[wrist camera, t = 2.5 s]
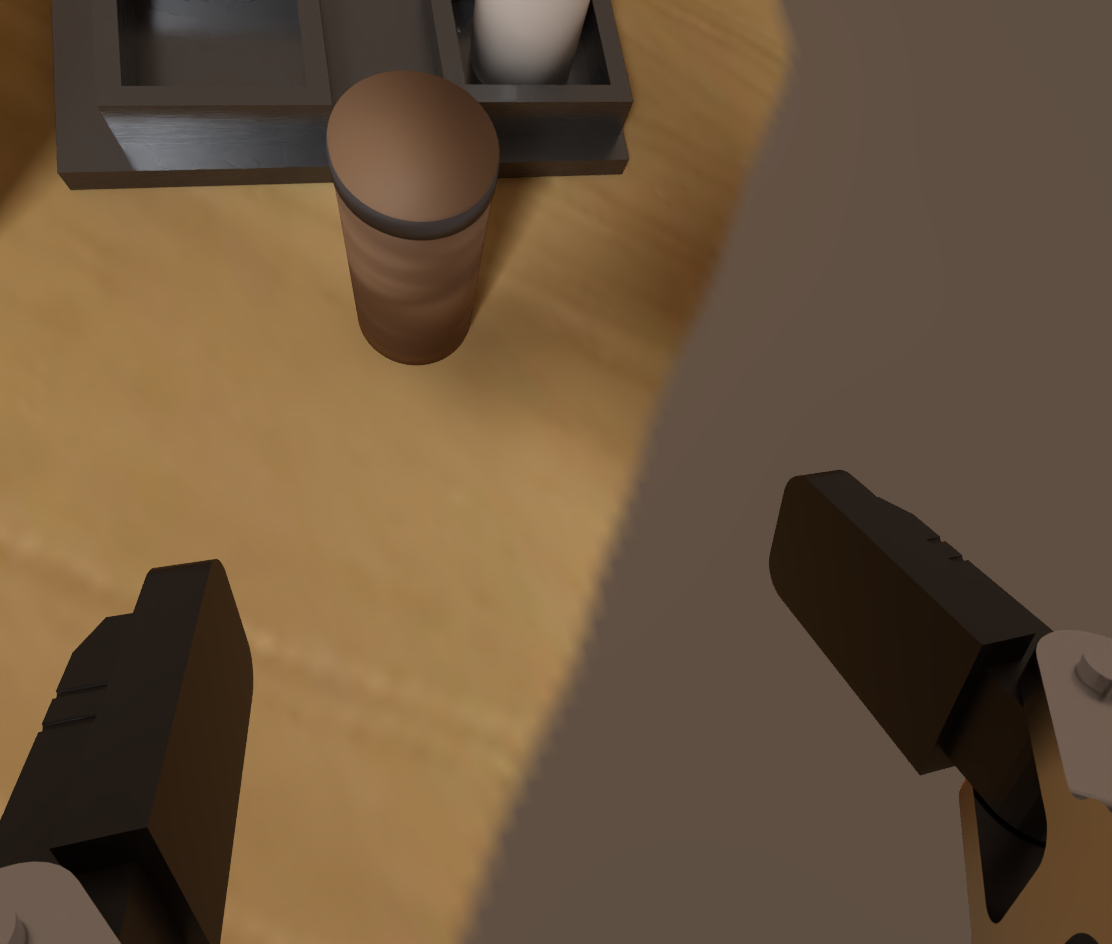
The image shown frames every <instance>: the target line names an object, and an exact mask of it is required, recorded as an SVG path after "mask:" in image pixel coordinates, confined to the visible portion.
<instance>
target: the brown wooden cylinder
mask: <svg viewBox="0 0 1112 944" xmlns="http://www.w3.org/2000/svg"><path fill="white" fill-rule="evenodd" d="M326 150H327V156H328V161H329V167H330V172H331V177H332V181H333V183H334V186H335V190H336V196H337V201H338V207H339V213H340V218H341V224H342V230H343V236H344V241H345V247H346V253H347V258H348V264H349V270H350V276H351V281H352V287H353V293H354V298H355V304H356V310H357V316H358V321H359V325H360V328H361V331H362V333H363V335H364V337H365V338H366V340H367V341H368V342H369V344H370V345H371V346H372V347H373V348H374V349H375V350H376V351H378V352H379V353H380V354H382V355H383V356H385V357H386V358H388V359H390V360H393V361H395V362H398V363H402V364H407V365H426V364H431V363H434V362H437V361H440V360H442V359H444V358H446V357H447V356H449V355H450V354H452V353H453V352H454V351H455V350H456V349H457V348H458V347H459V346H460V345H461V343H462V342H463V340H464V338H465V336H466V334H467V331H468V328H469V323H470V318H471V312H472V307H473V301H474V295H475V290H476V284H477V278H478V273H479V267H480V262H481V256H482V250H483V245H484V239H485V234H486V228H487V222H488V217H489V211H490V206H491V200H492V198H493V195H494V192H495V187H496V182H497V177H498V171H499V166H500V150H499V143H498V138H497V134H496V131H495V128H494V126H493V123H492V121H491V120H490V118H489V116H488V114H487V113H486V111H485V110H484V109H483V107H482V106H481V105H480V104H479V103H478V102H477V101H476V100H475V98H473V97H472V96H471V95H470V94H469V93H468V92H466V91H465V90H464V89H462V88H461V87H459V86H458V85H456V84H454V83H452V82H450V81H448V80H446V79H444V78H441V77H439V76H436V75H432V74H429V73H424V72H419V71H408V70H399V71H389V72H383V73H379V74H376V75H372V76H370V77H368V78H365V79H363V80H361V81H360V82H358V83H356V84H355V85H353V86H352V87H351V88H350V89H348V90H347V91H346V92H345V93H344V94H343V95H342V96H341V98H340V99H339V100H338V102H337V103H336V105H335V106H334V109H333V111H332V113H331V115H330V119H329V122H328V127H327V133H326Z"/></svg>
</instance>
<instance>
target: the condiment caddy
mask: <svg viewBox="0 0 1112 944" xmlns="http://www.w3.org/2000/svg"><path fill="white" fill-rule="evenodd" d="M51 4H52V32H53V61H54V89H55V117H56V145H57V173H58V174H59V175H60V177H61V178H62V179H63V181H64V182H65V183H66V184H67V186H68V187H69V188H70V190H82V189H117V188H153V187H188V186H223V185H258V184H293V183H328V182H333V181H332V177H331V172H330V167H329V161H328V156H327V150H326V133H327V127H328V122H329V119H330V115H331V113H332V111H333V109H334V106H335V105H336V103H337V102H338V100H339V99H340V98H341V96H342V95H343V94H344V93H345V92H346V91H347V90H348V89H350V88H351V87H352V86H353V85H355V84H356V83H358V82H360V81H361V80H363V79H365V78H368V77H370V76H372V75H376V74H379V73H383V72H389V71H399V70H408V71H419V72H424V73H429V74H432V75H436V76H439V77H441V78H444V79H446V80H448V81H450V82H452V83H454V84H456V85H458V86H459V87H461V88H462V89H464V90H465V91H466V92H468V93H469V94H470V95H471V96H472V97H473V98H475V100H476V101H477V102H478V103H479V104H480V105H481V106H482V107H483V109H484V110H485V111H486V113H487V114H488V116H489V118H490V120H491V121H492V123H493V126H494V128H495V131H496V134H497V138H498V143H499V150H500V166H499V171H498V177H497V178H503V177H538V176H573V175H608V174H622V173H623V171H624V169H625V167H626V164H627V162H628V160H629V158H628V154H627V149H626V144H625V140H624V135H623V131H622V127H623V125H624V123H625V120H626V118H627V115H628V113H629V110H630V108H631V106H632V103H633V99H632V95H631V90H630V86H629V82H628V77H627V73H626V68H625V64H624V59H623V55H622V51H621V46H620V42H619V37H618V33H617V28H616V24H615V20H614V15H613V11H612V6H611V2H610V0H590V2H589V6H588V10H587V13H586V17H585V20H584V24H583V28H582V31H581V35H580V38H579V42H578V46H577V49H576V53H575V56H574V60H573V64H572V67H571V71H570V74H569V78H568V81H567V83H566V85H483V84H482V83H481V82H480V80H479V79H478V78H477V76H476V74H475V73H474V70H473V68H472V65H471V61H470V45H471V35H472V24H473V14H474V4H475V0H51Z"/></svg>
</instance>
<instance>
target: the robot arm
mask: <svg viewBox="0 0 1112 944" xmlns="http://www.w3.org/2000/svg"><path fill="white" fill-rule="evenodd" d="M769 569H770V575H771V579H772V582H773V585H774V587H775V589H776V591H777V593H778V595H779V596H780V598H781V599H782V600H783V602H784V603H785V604H786V605H787V607H788V608H789V609H790V611H791V612H792V613H793V614H794V616H795V617H796V618H797V619H798V621H799V622H800V623H801V624H802V626H803V627H804V628H805V629H806V631H807V632H808V633H809V635H810V636H811V637H812V639H813V640H814V641H815V642H816V644H817V645H818V646H819V647H820V648H821V650H822V651H823V653H824V654H825V655H826V656H827V658H828V659H829V660H830V661H831V663H832V664H833V665H834V667H835V668H836V669H837V670H838V672H839V673H840V674H841V675H842V677H843V678H844V679H845V680H846V682H847V683H848V684H849V686H850V687H851V688H852V689H853V691H854V692H855V693H856V695H857V696H858V697H859V698H860V700H861V701H862V702H863V703H864V705H865V706H866V707H867V709H868V710H869V711H870V712H871V714H872V715H873V716H874V717H875V719H876V720H877V721H878V722H879V724H880V725H881V726H882V728H883V729H884V730H885V732H886V733H887V734H888V735H889V737H890V738H891V739H892V740H893V742H894V743H895V744H896V746H897V747H898V748H899V749H900V751H901V752H902V753H903V754H904V755H905V757H906V758H907V759H908V761H909V762H910V763H911V765H912V766H913V767H914V768H915V770H916V771H917V772H918V774H919V775H923V774H927V773H931V772H934V771H938V770H942V769H945V768H949V767H953V766H956V767H957V768H958V769H959V771H960V772H961V773H962V774H963V776H965V779H964V781H963V783H962V785H961V788H960V791H959V806H960V818H961V828H962V839H963V850H964V860H965V872H966V883H967V894H968V904H969V915H970V926H971V944H1112V639H1110V638H1107V637H1104V636H1101V635H1097V634H1094V633H1089V632H1084V631H1075V630H1061V631H1056V632H1054V631H1052V630H1051V629H1050V628H1049V627H1048V626H1046V625H1045V624H1044V623H1043V622H1042V621H1040V620H1039V619H1038V618H1037V617H1035V616H1034V615H1033V614H1032V613H1031V612H1030V611H1028V610H1027V609H1026V608H1025V607H1024V606H1022V605H1021V604H1020V603H1019V602H1018V601H1016V600H1015V599H1014V598H1013V597H1012V596H1010V595H1009V594H1008V593H1007V592H1006V591H1004V590H1003V589H1002V588H1001V587H999V586H998V585H997V584H996V583H995V582H994V581H992V580H991V579H990V578H989V577H987V576H986V575H985V574H984V573H983V572H982V571H980V570H979V569H978V568H977V567H975V566H974V565H973V564H972V563H971V562H970V561H969V560H966V561H964V560H963V559H962V555H961V554H960V553H959V552H957V550H955V549H954V548H953V547H952V546H951V545H949V544H948V543H947V542H945V541H944V542H941V541H940V536H939V535H937V534H936V533H935V532H934V531H933V530H931V529H930V528H929V527H928V526H926V525H925V524H924V523H923V522H922V521H921V520H919V519H918V518H917V517H916V516H914V515H913V514H911V513H909V512H907V511H905V510H903V509H901V508H899V507H897V506H895V505H893V504H891V503H889V502H887V501H885V500H883V499H881V498H879V497H876V496H875V495H874V494H873V493H872V492H870V491H869V490H868V489H867V488H866V487H865V486H864V485H862V484H861V483H860V482H859V481H858V480H857V479H855V478H854V477H853V476H852V475H851V474H849V473H848V472H846V471H843V470H835V471H829V472H822V473H815V474H808V475H801V476H795V477H793V478H791V479H790V480H789V481H788V483H787V485H786V487H785V490H784V494H783V499H782V503H781V507H780V512H779V516H778V521H777V525H776V529H775V534H774V538H773V543H772V547H771V552H770V557H769ZM56 692H57V698H55V699H52V702H51V704H50V706H49V709H48V711H47V713H46V716H45V718H44V720H43V723H42V725H43V730H42V732H38V734H37V736H36V739H35V741H34V743H33V746H32V748H31V750H30V753H29V755H28V757H27V760H26V762H25V764H24V767H23V769H22V771H21V773H20V776H19V778H18V780H17V783H16V785H15V787H14V790H13V792H12V794H11V797H10V799H9V801H8V804H7V806H6V808H5V811H4V813H3V815H2V818H1V820H0V944H220V939H221V932H222V924H223V916H224V909H225V901H226V894H227V886H228V878H229V871H230V863H231V855H232V848H233V840H234V833H235V825H236V817H237V810H238V802H239V794H240V787H241V779H242V771H243V764H244V756H245V749H246V741H247V733H248V726H249V718H250V710H251V703H252V695H253V667H252V658H251V652H250V648H249V644H248V641H247V637H246V634H245V631H244V628H243V625H242V622H241V619H240V616H239V612H238V609H237V606H236V603H235V600H234V597H233V594H232V590H231V587H230V584H229V581H228V578H227V575H226V572H225V569H224V567H223V565H222V563H221V562H220V561H219V560H218V559H213V560H206V561H199V562H192V563H185V564H178V565H171V566H165V567H158V568H152V569H151V570H150V571H149V572H148V573H147V576H146V578H145V581H144V584H143V586H142V589H141V592H140V595H139V598H138V600H137V603H136V606H135V609H134V612H133V613H130V614H124V615H118V616H111V617H106V618H105V619H104V620H103V621H102V622H101V623H100V624H99V625H98V626H97V627H96V629H95V630H94V631H93V632H92V633H91V634H90V635H89V636H88V637H87V638H86V639H85V640H84V641H83V642H82V643H81V644H80V645H79V646H78V648H77V649H76V650H75V651H74V652H73V653H72V655H71V658H70V660H69V662H68V665H67V667H66V669H65V672H64V674H63V676H62V678H61V681H60V683H59V685H58V688H57V690H56Z"/></svg>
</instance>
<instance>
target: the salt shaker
mask: <svg viewBox="0 0 1112 944" xmlns="http://www.w3.org/2000/svg"><path fill="white" fill-rule="evenodd" d="M589 2H590V0H475V4H474V14H473V24H472V35H471V45H470V61H471V65H472V68H473V70H474V73H475V74H476V76H477V78H478V79H479V80H480V82H481V83H482V84H483V85H566V83H567V81H568V78H569V74H570V71H571V67H572V64H573V60H574V56H575V53H576V49H577V46H578V42H579V38H580V35H581V31H582V28H583V24H584V20H585V17H586V13H587V10H588V6H589Z"/></svg>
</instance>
